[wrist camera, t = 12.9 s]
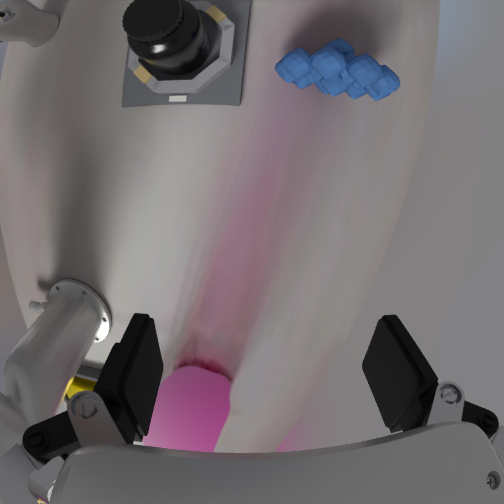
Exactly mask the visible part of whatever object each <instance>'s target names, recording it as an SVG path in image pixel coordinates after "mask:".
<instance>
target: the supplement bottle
mask: <svg viewBox="0 0 504 504" xmlns="http://www.w3.org/2000/svg"><path fill="white" fill-rule="evenodd" d="M122 22H123V27H124V31H126V33H127V40H128V44H129V46H130V48H131V50H132V51H133V52H134V53H135V54H136V55H137V56H139V57H140V58H142V59H143V60H145V61H146V62H148V63H149V64H151V65H153V66H154V67H156V68H157V69H159V70H160V71H162V72H164V73H166V74H169V75H174V76H180V75H186V74H189V73H191V72H194V71H195V70H197V69H198V68H200V67H201V66H202V65H203V64H204V63H205V62H206V60H207V58H208V57H209V54H210V51H211V41H210V38H209V35H208V33H207V30H206V28H205V25H204V23H203V21H202V18H201V16H200V13H199V12H198V10H197V9H196V7H195V6H194V5H192V4H191V3H190V2H188V1H186V0H134V1H133V2H132V3H131V4H130V6H129V7H128V8H127V10H126V11H125V13H124V16H123V21H122Z"/></svg>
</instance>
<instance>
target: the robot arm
mask: <svg viewBox="0 0 504 504" xmlns="http://www.w3.org/2000/svg"><path fill="white" fill-rule="evenodd" d="M29 310H30V311H32V312H36V313H41V315H40V316H39V317H38V318H37V320H36V321H35V322H34V323H33V325H32V326H31V327H30V328H29V330H28V331H27V332H26V334H25V335H24V336H23V337H22V339H21V340H20V341H19V343H18V344H17V345H16V347H15V348H14V349H13V351H12V352H11V353H10V355H9V356H8V358H7V360H6V362H5V365H4V370H3V384H4V393H5V395H4V394H2V393H1V392H0V504H504V426H502V425H501V426H500V427H499V422H498V418H497V417H496V415H495V414H494V413H493V412H491V411H489V410H487V409H485V408H482V407H479V406H477V405H474V404H472V403H470V402H467V401H465V400H464V399H465V398H464V392H463V390H462V389H461V388H460V386H458V385H457V384H456V383H454V382H450V381H444V382H442V383H440V384H439V383H438V382H437V380H438V378H437V376H436V374H435V373H434V371H433V369H432V368H431V366H430V365H429V363H428V361H427V360H426V358H425V357H424V355H423V354H422V352H421V350H420V349H419V347H418V346H417V345H416V343H415V341H414V340H413V339H412V337H411V335H410V334H409V332H408V331H407V329H406V328H405V327H404V325H403V324H402V322H401V321H400V319H399V318H398V316H396V315H384V316H383V317H382V318H381V319H380V320H379V321H378V323H377V326H376V329H375V331H374V334H373V337H372V340H371V342H370V345H369V348H368V350H367V353H366V355H365V358H364V360H363V363H362V369H363V372H364V374H365V376H366V379H367V381H368V384H369V386H370V388H371V391H372V393H373V396H374V398H375V401H376V403H377V406H378V408H379V411H380V413H381V416H382V418H383V421H384V423H385V426H386V427H389V429H390V432H391V433H394V432H397V431H401V430H402V431H403V432H401V433H397V434H393V435H389V436H385V437H381V438H376V439H372V440H368V441H362V442H357V443H352V444H346V445H340V446H334V447H327V448H319V449H310V450H301V451H289V452H272V453H216V452H199V451H198V452H197V451H186V450H176V449H167V448H159V447H151V446H142V445H134V444H133V442H134V441H138V442H142V439H143V436H147V434H148V431H149V426H150V422H151V417H152V413H153V409H154V405H155V401H156V397H157V393H158V389H159V385H160V381H161V377H162V373H163V361H162V357H161V352H160V348H159V343H158V338H157V333H156V328H155V323H154V319H153V318H150V317H149V315H148V314H141V313H135V314H134V315H133V317H132V319H131V321H130V323H129V325H128V327H127V329H126V331H125V333H124V335H123V337H122V339H121V342H120V343H115V344H114V346H113V347H112V349H111V352H110V354H109V356H108V358H107V360H106V362H105V364H104V367H103V369H102V371H101V373H100V375H99V378H98V380H97V382H96V384H95V387H94V389H93V391H89V390H84V391H79V392H77V393H75V394H74V395H73V396H72V397H71V398H70V399H69V401H68V404H67V411H65V412H62V413H60V414H58V415H56V414H57V412H58V410H59V407H60V405H61V403H62V401H63V399H64V397H65V395H66V393H67V391H68V389H69V387H70V385H71V383H72V381H73V379H74V377H75V375H76V373H77V371H78V369H79V367H80V366H81V364H82V362H83V360H84V358H85V356H86V354H87V353H88V351H89V349H90V347H91V345H92V344H93V343H97V342H101V341H102V340H104V339H105V338H106V337H107V336H108V334H109V332H110V330H111V322H112V321H111V316H110V313H109V310H108V308H107V307H106V305H105V303H104V302H103V300H102V299H101V298H100V297H99V296H98V295H97V294H96V292H94V291H93V290H92V289H91V288H90V287H88V286H86V285H85V284H83V283H81V282H78V281H76V280H71V279H64V280H60V281H58V282H57V283H56V284H55V285H54V286H53V287H52V288H51V290H50V292H49V299H48V301H47V302H43V303H40V302H36V301H31V302H30V303H29ZM55 480H56V482H55V483H54V481H55ZM53 485H54V487H53V490H52V494H51V497H50V501H48V498H47V494H48V491H49V489H50V488H51V487H52V486H53Z"/></svg>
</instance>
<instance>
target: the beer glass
mask: <svg viewBox="0 0 504 504" xmlns="http://www.w3.org/2000/svg"><path fill="white" fill-rule="evenodd" d="M58 24H59V16H58V14H57V13H56V12H53V11H45V10H41V9H39V8H37V7H36V6H35V5H33V4H32V3H31V2H30V1H28V0H0V42H13V41H20V42H25V43H27V44H28V45H30V46H32V47H40V46H42V45H44V44H45V43H46V42H48V41H49V40H50V39H51V37H52V36H53V35H54V33H55V31H56V29H57V27H58Z"/></svg>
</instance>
